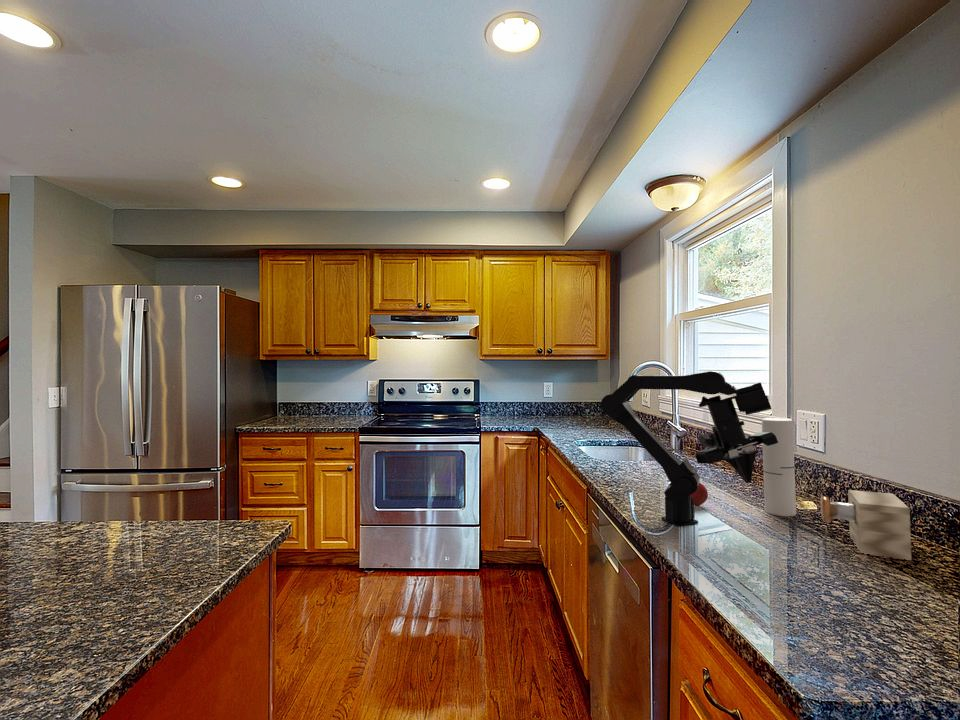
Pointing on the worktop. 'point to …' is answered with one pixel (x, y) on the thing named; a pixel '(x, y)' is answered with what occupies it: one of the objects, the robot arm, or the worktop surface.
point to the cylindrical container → (779, 468)
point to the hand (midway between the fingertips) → (748, 482)
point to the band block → (880, 524)
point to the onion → (699, 495)
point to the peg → (837, 510)
